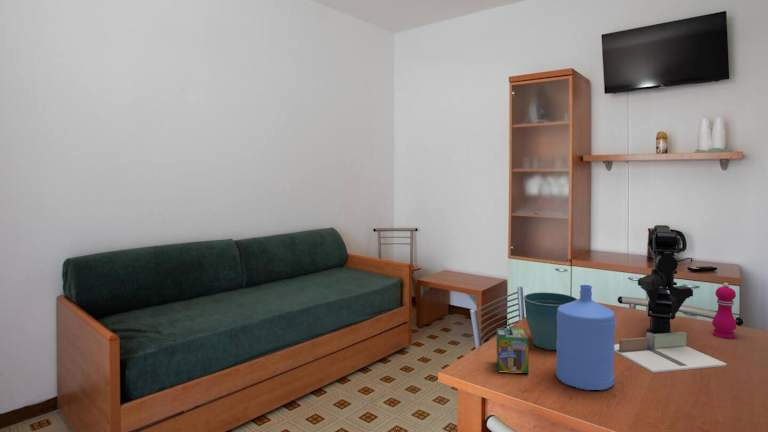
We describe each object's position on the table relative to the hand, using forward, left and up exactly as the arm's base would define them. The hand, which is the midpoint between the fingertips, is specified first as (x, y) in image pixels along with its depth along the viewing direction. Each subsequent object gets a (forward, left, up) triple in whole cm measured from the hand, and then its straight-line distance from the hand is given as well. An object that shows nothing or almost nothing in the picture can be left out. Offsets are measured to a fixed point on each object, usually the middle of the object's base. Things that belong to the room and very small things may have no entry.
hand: (663, 310), depth 160 cm
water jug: (+21, -44, -12) cm, 50 cm away
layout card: (+10, -8, -12) cm, 17 cm away
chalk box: (+9, -61, -12) cm, 63 cm away
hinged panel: (+5, -1, -11) cm, 12 cm away
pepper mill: (-2, +28, -12) cm, 31 cm away
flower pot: (-7, -39, -12) cm, 42 cm away
